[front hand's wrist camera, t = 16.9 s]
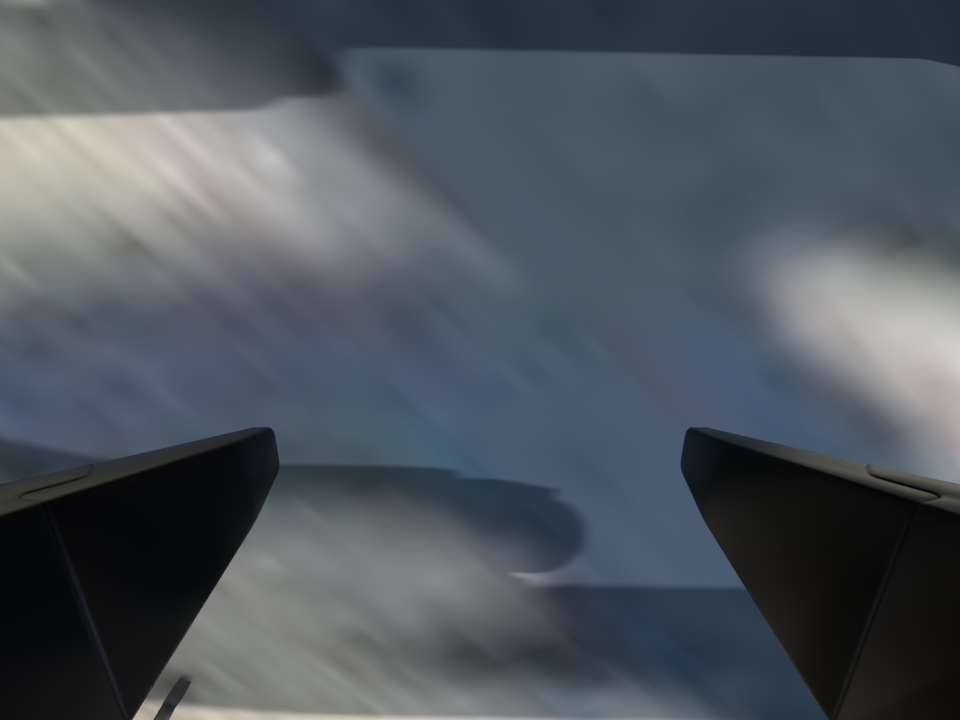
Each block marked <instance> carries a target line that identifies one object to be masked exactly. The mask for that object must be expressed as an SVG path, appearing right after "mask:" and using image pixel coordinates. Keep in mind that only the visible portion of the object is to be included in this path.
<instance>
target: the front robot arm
mask: <svg viewBox="0 0 960 720" xmlns="http://www.w3.org/2000/svg"><path fill="white" fill-rule="evenodd" d="M278 470H279V457H278V451H277V445H276V439H275V434H274V431H273V430H272V429H271V428H269V427H262V428H249V429H245V430H241V431H236V432H232V433H228V434H223V435H219V436H215V437H210V438H206V439H202V440H197V441H193V442H189V443H184V444H180V445H176V446H171V447H167V448H163V449H158V450H154V451H150V452H145V453H141V454H137V455H132V456H128V457H124V458H119V459H115V460H111V461H107V462H102V463H98V464H96V465H95V466H94V465H92V464H91V465H86V466H82V467H77V468H73V469H69V470H64V471H60V472H55V473H51V474H46V475H42V476H37V477H32V478H28V479H23V480H18V481H14V482H9V483H4V484H0V720H132V719H133V718H134V716H135V714H136V713H137V711H138V710H139V708H140V706H141V705H142V703H143V702H144V700H145V698H146V697H147V695H148V694H149V692H150V690H151V689H152V687H153V685H154V684H155V682H156V681H157V679H158V677H159V676H160V674H161V673H162V671H163V669H164V668H165V666H166V665H167V663H168V661H169V660H170V658H171V657H172V655H173V653H174V652H175V650H176V648H177V647H178V645H179V644H180V642H181V640H182V639H183V637H184V636H185V634H186V632H187V631H188V629H189V628H190V626H191V624H192V623H193V621H194V620H195V618H196V616H197V615H198V613H199V612H200V610H201V608H202V607H203V605H204V603H205V602H206V600H207V599H208V597H209V595H210V594H211V592H212V591H213V589H214V587H215V586H216V584H217V583H218V581H219V579H220V578H221V576H222V575H223V573H224V571H225V570H226V568H227V567H228V565H229V563H230V562H231V560H232V558H233V557H234V555H235V554H236V552H237V550H238V549H239V547H240V546H241V544H242V542H243V541H244V539H245V538H246V536H247V534H248V533H249V531H250V530H251V528H252V526H253V524H254V523H255V521H256V519H257V517H258V515H259V513H260V511H261V509H262V507H263V504H264V502H265V500H266V498H267V496H268V493H269V491H270V489H271V487H272V485H273V482H274V480H275V478H276V476H277V473H278ZM681 470H682V473H683V476H684V478H685V480H686V482H687V485H688V487H689V489H690V491H691V493H692V496H693V498H694V500H695V502H696V504H697V507H698V509H699V511H700V513H701V515H702V517H703V519H704V521H705V523H706V524H707V526H708V528H709V530H710V531H711V533H712V534H713V536H714V538H715V539H716V541H717V542H718V544H719V546H720V547H721V549H722V550H723V552H724V554H725V555H726V557H727V558H728V560H729V562H730V563H731V565H732V566H733V568H734V570H735V571H736V573H737V575H738V576H739V578H740V579H741V581H742V583H743V584H744V586H745V587H746V589H747V591H748V592H749V594H750V595H751V597H752V599H753V600H754V602H755V603H756V605H757V607H758V608H759V610H760V611H761V613H762V615H763V616H764V618H765V620H766V621H767V623H768V624H769V626H770V628H771V629H772V631H773V632H774V634H775V636H776V637H777V639H778V640H779V642H780V644H781V645H782V647H783V648H784V650H785V652H786V653H787V655H788V657H789V658H790V660H791V661H792V663H793V665H794V666H795V668H796V669H797V671H798V673H799V674H800V676H801V677H802V679H803V681H804V682H805V684H806V685H807V687H808V689H809V690H810V692H811V693H812V695H813V697H814V698H815V700H816V702H817V703H818V705H819V706H820V708H821V710H822V711H823V713H824V714H825V716H826V718H827V719H828V720H960V484H956V483H951V482H946V481H942V480H937V479H932V478H928V477H923V476H918V475H914V474H909V473H905V472H900V471H896V470H891V469H887V468H883V467H878V466H874V465H869V464H868V465H866V466H865V465H864V464H862V463H858V462H854V461H849V460H845V459H841V458H836V457H832V456H828V455H823V454H819V453H815V452H810V451H806V450H802V449H797V448H793V447H789V446H784V445H780V444H776V443H771V442H767V441H763V440H758V439H754V438H750V437H745V436H741V435H737V434H732V433H728V432H724V431H719V430H715V429H711V428H698V427H691V428H689V429H688V430H687V431H686V434H685V439H684V445H683V451H682V457H681Z"/></svg>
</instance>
